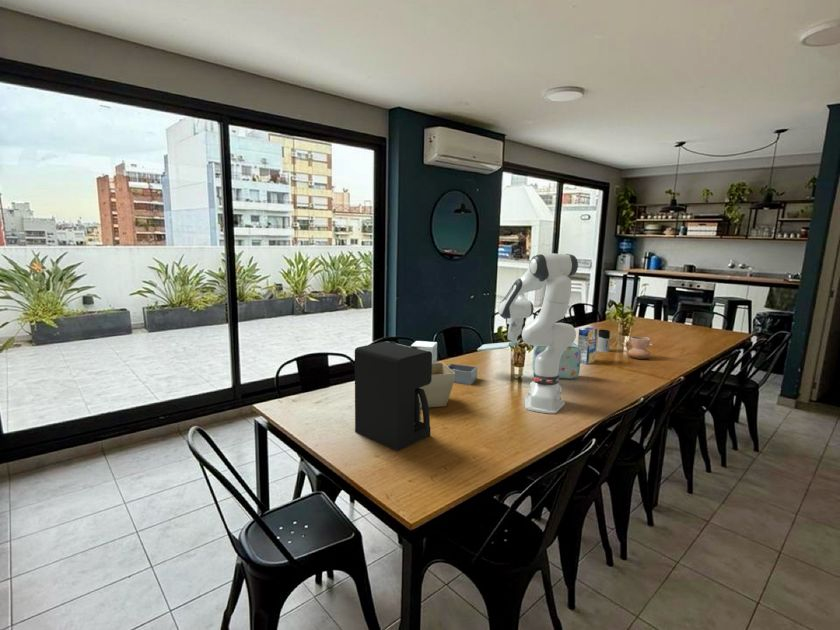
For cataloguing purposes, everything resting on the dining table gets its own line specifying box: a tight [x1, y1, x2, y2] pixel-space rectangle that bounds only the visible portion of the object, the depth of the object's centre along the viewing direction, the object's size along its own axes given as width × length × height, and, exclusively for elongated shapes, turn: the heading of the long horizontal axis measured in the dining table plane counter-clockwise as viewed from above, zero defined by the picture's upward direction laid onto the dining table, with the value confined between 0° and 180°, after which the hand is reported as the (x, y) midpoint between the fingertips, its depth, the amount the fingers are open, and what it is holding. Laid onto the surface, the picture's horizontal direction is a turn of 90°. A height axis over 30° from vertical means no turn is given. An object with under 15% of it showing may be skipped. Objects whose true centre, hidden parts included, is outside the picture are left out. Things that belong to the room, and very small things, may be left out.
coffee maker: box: [354, 341, 432, 452], centre depth 172 cm, size 28×20×35 cm
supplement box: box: [410, 340, 438, 363], centre depth 259 cm, size 13×13×18 cm
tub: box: [446, 363, 478, 386], centre depth 247 cm, size 12×16×7 cm
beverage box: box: [577, 326, 598, 365], centre depth 288 cm, size 7×11×22 cm, turn 131°
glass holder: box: [595, 329, 618, 353], centre depth 319 cm, size 9×14×15 cm, turn 40°
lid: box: [476, 340, 520, 352], centre depth 251 cm, size 13×22×2 cm, turn 67°
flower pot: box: [418, 362, 455, 409], centre depth 210 cm, size 19×19×17 cm
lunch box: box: [532, 342, 581, 380], centre depth 255 cm, size 27×10×21 cm, turn 84°
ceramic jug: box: [625, 335, 653, 360], centre depth 303 cm, size 18×14×14 cm
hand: (513, 345), depth 248 cm, fingers closed on lid, 3 cm apart
